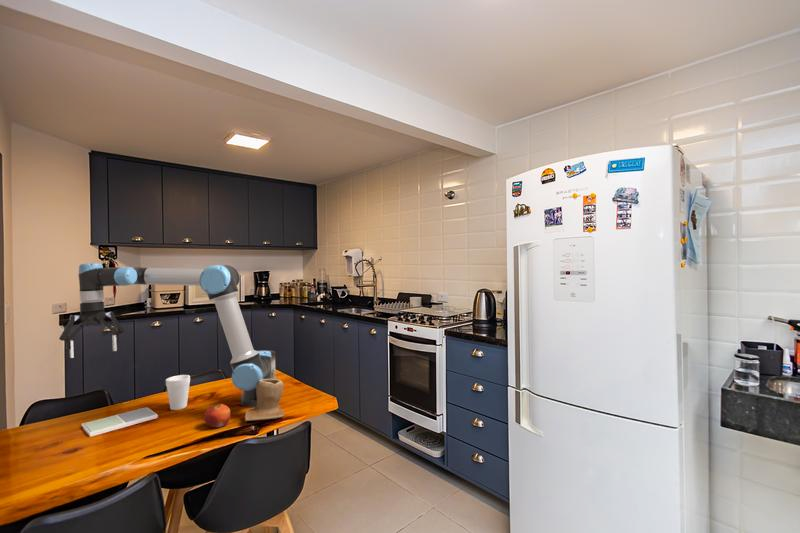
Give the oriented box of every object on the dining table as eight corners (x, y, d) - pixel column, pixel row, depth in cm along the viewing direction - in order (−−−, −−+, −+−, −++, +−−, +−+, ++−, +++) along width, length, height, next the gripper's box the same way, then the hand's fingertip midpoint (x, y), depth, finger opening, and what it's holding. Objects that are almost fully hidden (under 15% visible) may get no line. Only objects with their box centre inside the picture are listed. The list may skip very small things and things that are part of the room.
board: (157, 417, 155) (157, 414, 155) (90, 436, 138) (90, 432, 138) (146, 409, 164) (146, 406, 164) (81, 426, 147) (81, 423, 147)
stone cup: (281, 408, 161) (283, 374, 160) (285, 421, 150) (288, 384, 149) (243, 412, 154) (246, 376, 154) (244, 425, 143) (247, 387, 143)
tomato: (235, 423, 147) (235, 403, 147) (212, 432, 139) (212, 411, 139) (222, 418, 152) (222, 399, 152) (199, 427, 145) (199, 406, 145)
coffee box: (258, 384, 196) (258, 354, 196) (254, 382, 201) (254, 352, 201) (275, 381, 202) (275, 351, 202) (271, 378, 207) (271, 349, 207)
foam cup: (194, 405, 168) (194, 376, 168) (173, 412, 160) (173, 382, 160) (183, 402, 172) (182, 374, 172) (161, 408, 165) (161, 379, 165)
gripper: (126, 298, 163) (128, 347, 163) (48, 304, 144) (50, 359, 144) (131, 298, 158) (133, 349, 158) (51, 304, 139) (53, 361, 139)
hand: (94, 354), depth 151 cm, fingers open, 13 cm apart
